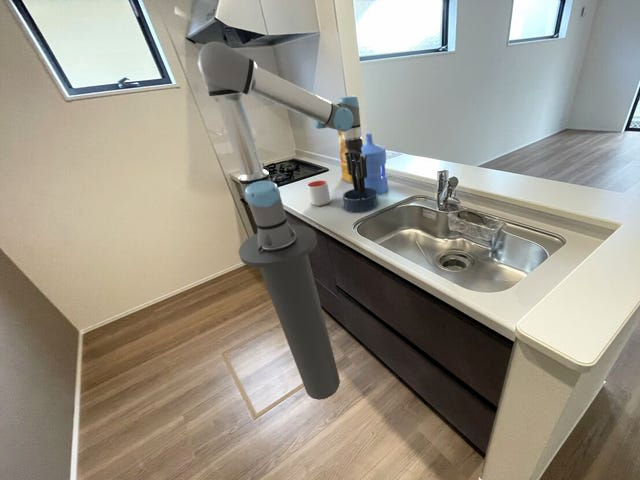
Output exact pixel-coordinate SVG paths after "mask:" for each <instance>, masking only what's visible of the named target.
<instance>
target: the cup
mask: <svg viewBox="0 0 640 480" xmlns="http://www.w3.org/2000/svg"><path fill="white" fill-rule="evenodd" d="M306 186H307V190H308V196H309V200H310V204H312V206H315V207H319V206H321V207H322V206H325V205H327V204H329V203H330V202H331V195H330V191H329V185H328V181H327V180H314V181H311V182H309V183H308V184H307V185H306Z"/></svg>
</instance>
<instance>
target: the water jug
mask: <svg viewBox="0 0 640 480" xmlns="http://www.w3.org/2000/svg"><path fill="white" fill-rule="evenodd" d="M361 151H362V154H363V155H366V156H367V158H366V166H367V177H366V178H364V181H365V188H373V189H375V190H377V194H378V196H379V195H382V194H384V193H386V192H387V191H388V190H389V184H388V176H387V175H388V174H386V164H387V152H386V148H385V147H384V146H382V145H379V144H377V143H374V142H373V134H372V133H366V134H365V143H364V144H363V147H362V148H361Z"/></svg>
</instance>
